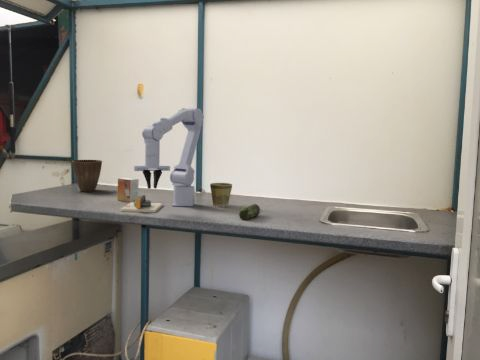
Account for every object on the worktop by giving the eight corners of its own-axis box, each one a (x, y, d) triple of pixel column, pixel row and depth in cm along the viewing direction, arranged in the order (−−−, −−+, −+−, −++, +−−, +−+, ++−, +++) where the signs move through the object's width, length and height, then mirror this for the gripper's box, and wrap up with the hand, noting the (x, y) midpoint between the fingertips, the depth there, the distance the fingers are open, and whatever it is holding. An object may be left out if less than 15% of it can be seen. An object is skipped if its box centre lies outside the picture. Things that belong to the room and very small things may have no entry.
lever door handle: (136, 203, 176) (136, 194, 176) (152, 204, 176) (152, 194, 176) (129, 208, 165) (129, 198, 164) (146, 209, 165) (146, 198, 164)
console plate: (162, 205, 181) (162, 202, 181) (154, 212, 165) (154, 209, 165) (131, 204, 181) (131, 201, 181) (120, 211, 165) (120, 208, 165)
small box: (117, 200, 189) (117, 178, 188) (125, 199, 194) (125, 177, 193) (130, 202, 186) (130, 179, 184) (138, 200, 190) (138, 178, 189)
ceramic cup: (228, 208, 180) (229, 186, 178) (207, 206, 181) (207, 184, 180) (235, 203, 192) (235, 182, 191) (214, 202, 194) (215, 181, 193)
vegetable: (249, 221, 155) (249, 209, 154) (236, 220, 157) (237, 207, 156) (262, 215, 167) (263, 203, 167) (251, 214, 169) (251, 202, 169)
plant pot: (91, 193, 207) (91, 162, 205) (66, 191, 210) (65, 160, 208) (107, 189, 221) (107, 160, 219) (83, 188, 225) (83, 159, 223)
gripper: (166, 154, 173) (166, 186, 174) (132, 154, 166) (132, 187, 168) (171, 156, 166) (171, 188, 168) (136, 155, 160) (136, 189, 161)
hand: (152, 188), depth 167 cm, fingers closed
